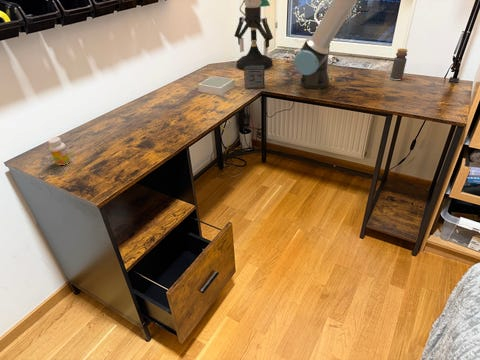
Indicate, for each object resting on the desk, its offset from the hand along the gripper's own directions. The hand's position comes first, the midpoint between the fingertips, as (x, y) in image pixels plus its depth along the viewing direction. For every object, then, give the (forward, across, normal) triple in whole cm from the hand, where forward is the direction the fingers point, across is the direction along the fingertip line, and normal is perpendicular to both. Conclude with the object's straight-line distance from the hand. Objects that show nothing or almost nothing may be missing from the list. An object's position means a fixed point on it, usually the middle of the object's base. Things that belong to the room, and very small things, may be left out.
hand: (253, 53), depth 168 cm
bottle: (+17, +65, +38) cm, 77 cm away
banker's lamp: (+18, -17, +33) cm, 41 cm away
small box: (+18, 0, 0) cm, 18 cm away
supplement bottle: (+18, -30, -97) cm, 103 cm away
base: (+18, -17, -11) cm, 27 cm away
